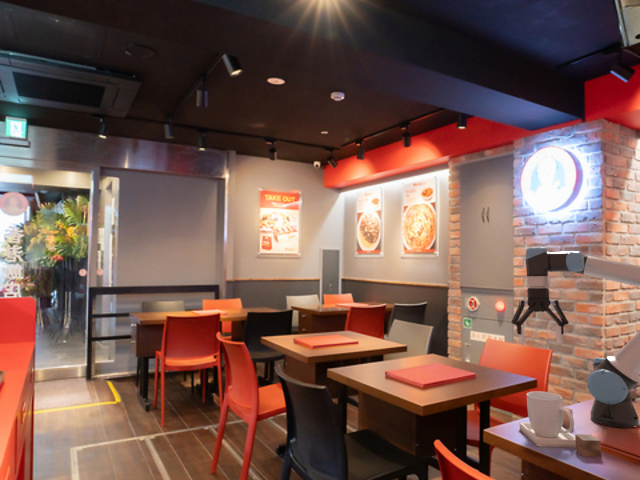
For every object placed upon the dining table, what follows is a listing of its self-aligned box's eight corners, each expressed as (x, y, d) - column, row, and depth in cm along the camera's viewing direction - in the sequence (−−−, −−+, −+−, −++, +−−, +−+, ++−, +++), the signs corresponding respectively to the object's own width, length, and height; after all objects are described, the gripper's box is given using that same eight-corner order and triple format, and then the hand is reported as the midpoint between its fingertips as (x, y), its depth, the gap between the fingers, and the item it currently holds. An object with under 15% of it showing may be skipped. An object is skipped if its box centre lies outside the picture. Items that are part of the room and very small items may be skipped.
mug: (583, 439, 146) (580, 398, 147) (565, 447, 140) (563, 404, 141) (539, 426, 159) (537, 389, 160) (521, 433, 153) (519, 394, 154)
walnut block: (592, 450, 139) (591, 434, 140) (601, 457, 134) (600, 440, 135) (576, 450, 140) (575, 434, 140) (584, 457, 135) (583, 440, 135)
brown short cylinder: (569, 423, 164) (568, 407, 164) (576, 428, 159) (575, 411, 159) (555, 423, 164) (554, 407, 165) (561, 428, 159) (560, 411, 160)
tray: (557, 430, 157) (557, 423, 158) (579, 447, 142) (579, 440, 142) (519, 429, 159) (519, 422, 159) (537, 446, 143) (536, 439, 143)
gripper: (567, 286, 174) (570, 341, 173) (501, 287, 176) (503, 341, 175) (576, 287, 167) (579, 344, 165) (507, 288, 169) (510, 344, 167)
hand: (540, 343), depth 170 cm, fingers open, 13 cm apart
